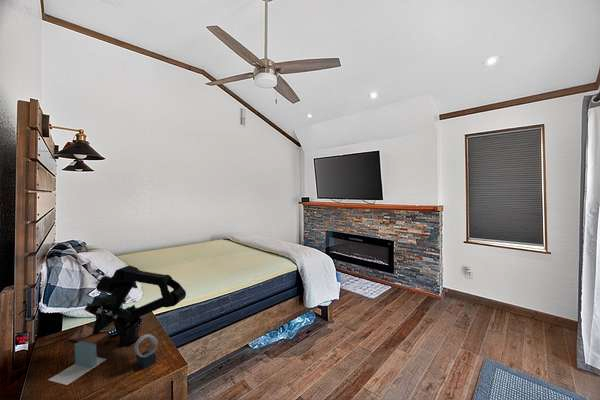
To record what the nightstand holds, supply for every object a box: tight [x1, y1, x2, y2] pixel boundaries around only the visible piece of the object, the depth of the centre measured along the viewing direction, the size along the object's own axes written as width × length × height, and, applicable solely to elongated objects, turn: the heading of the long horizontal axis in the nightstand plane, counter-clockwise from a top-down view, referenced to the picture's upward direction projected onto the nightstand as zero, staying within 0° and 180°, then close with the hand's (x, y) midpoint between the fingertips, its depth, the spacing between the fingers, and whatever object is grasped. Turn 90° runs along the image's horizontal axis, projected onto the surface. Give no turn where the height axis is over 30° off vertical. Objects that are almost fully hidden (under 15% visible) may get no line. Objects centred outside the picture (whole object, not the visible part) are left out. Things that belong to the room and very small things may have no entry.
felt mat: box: [48, 356, 107, 386], centre depth 97 cm, size 14×9×1 cm, turn 166°
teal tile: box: [74, 341, 98, 369], centre depth 99 cm, size 2×8×8 cm, turn 76°
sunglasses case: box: [66, 324, 113, 346], centre depth 117 cm, size 18×7×7 cm, turn 71°
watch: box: [133, 333, 159, 370], centre depth 101 cm, size 6×8×11 cm
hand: (93, 334), depth 102 cm, fingers closed
